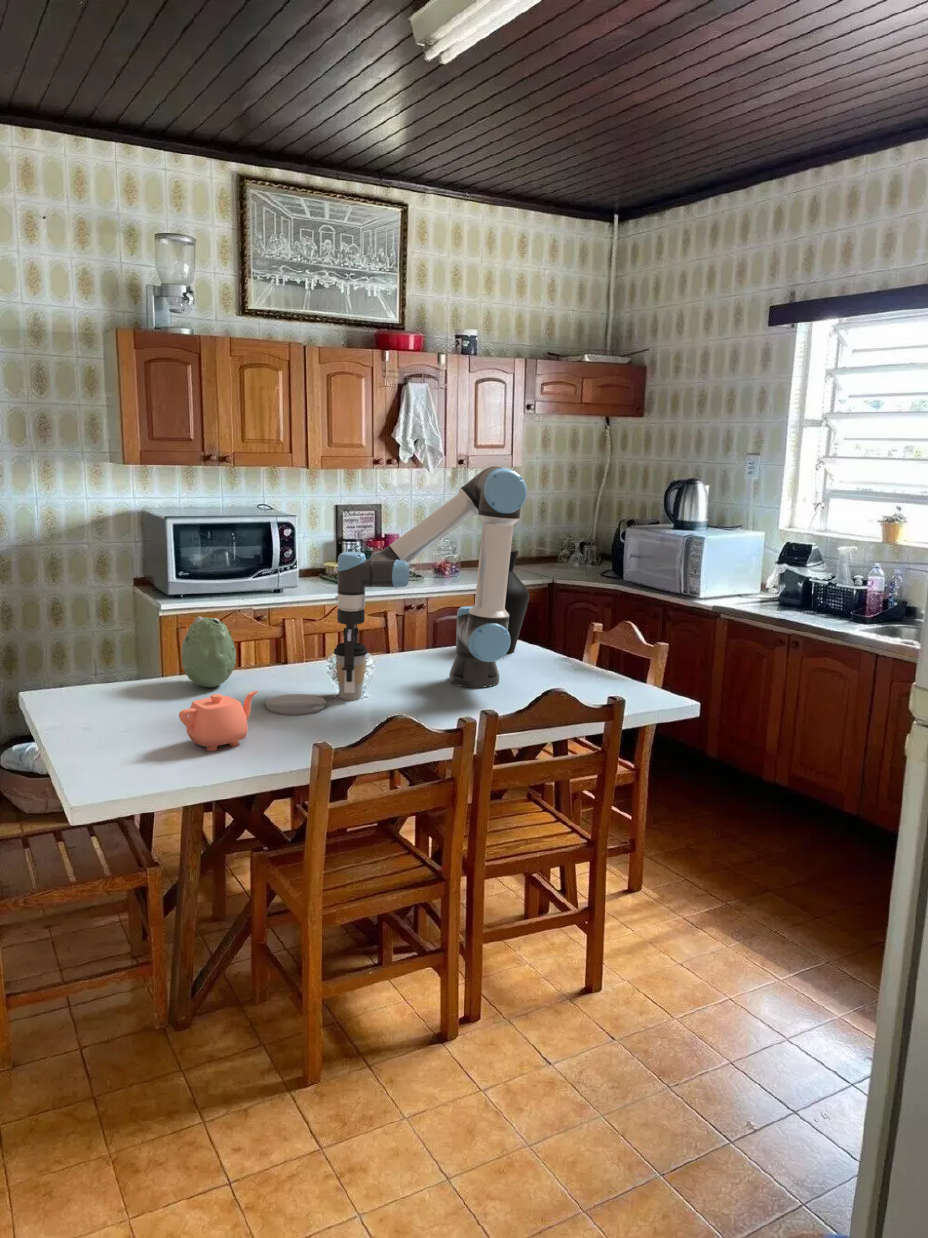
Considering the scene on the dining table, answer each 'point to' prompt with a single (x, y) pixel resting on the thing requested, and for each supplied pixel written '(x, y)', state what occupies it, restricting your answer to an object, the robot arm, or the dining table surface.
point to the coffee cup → (358, 673)
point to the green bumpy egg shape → (208, 652)
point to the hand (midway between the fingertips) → (350, 687)
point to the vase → (515, 602)
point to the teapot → (217, 720)
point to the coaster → (295, 704)
